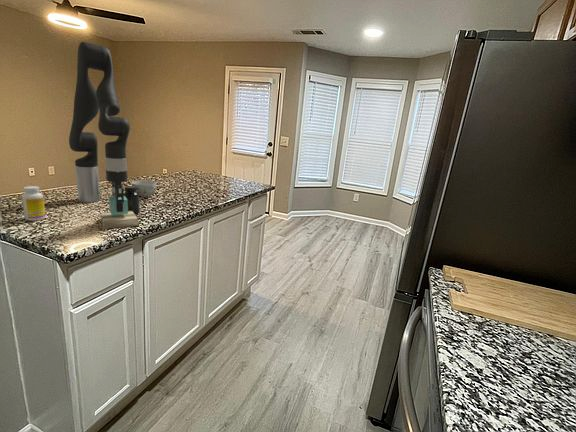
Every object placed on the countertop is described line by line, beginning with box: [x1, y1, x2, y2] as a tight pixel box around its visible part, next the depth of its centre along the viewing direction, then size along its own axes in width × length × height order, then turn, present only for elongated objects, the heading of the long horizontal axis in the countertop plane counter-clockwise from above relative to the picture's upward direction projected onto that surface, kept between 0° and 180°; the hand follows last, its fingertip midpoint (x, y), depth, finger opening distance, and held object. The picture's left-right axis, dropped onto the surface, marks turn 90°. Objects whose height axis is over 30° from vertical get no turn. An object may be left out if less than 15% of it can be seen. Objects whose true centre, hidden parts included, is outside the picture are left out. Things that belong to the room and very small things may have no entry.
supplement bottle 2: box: [124, 185, 141, 215], centre depth 143 cm, size 7×7×12 cm
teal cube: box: [108, 196, 128, 215], centre depth 127 cm, size 6×6×6 cm
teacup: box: [131, 179, 157, 198], centre depth 172 cm, size 15×12×8 cm
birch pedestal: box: [100, 211, 139, 229], centre depth 129 cm, size 12×12×3 cm
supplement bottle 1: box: [21, 185, 47, 222], centre depth 122 cm, size 7×7×13 cm
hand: (118, 209), depth 128 cm, fingers closed on teal cube, 6 cm apart
